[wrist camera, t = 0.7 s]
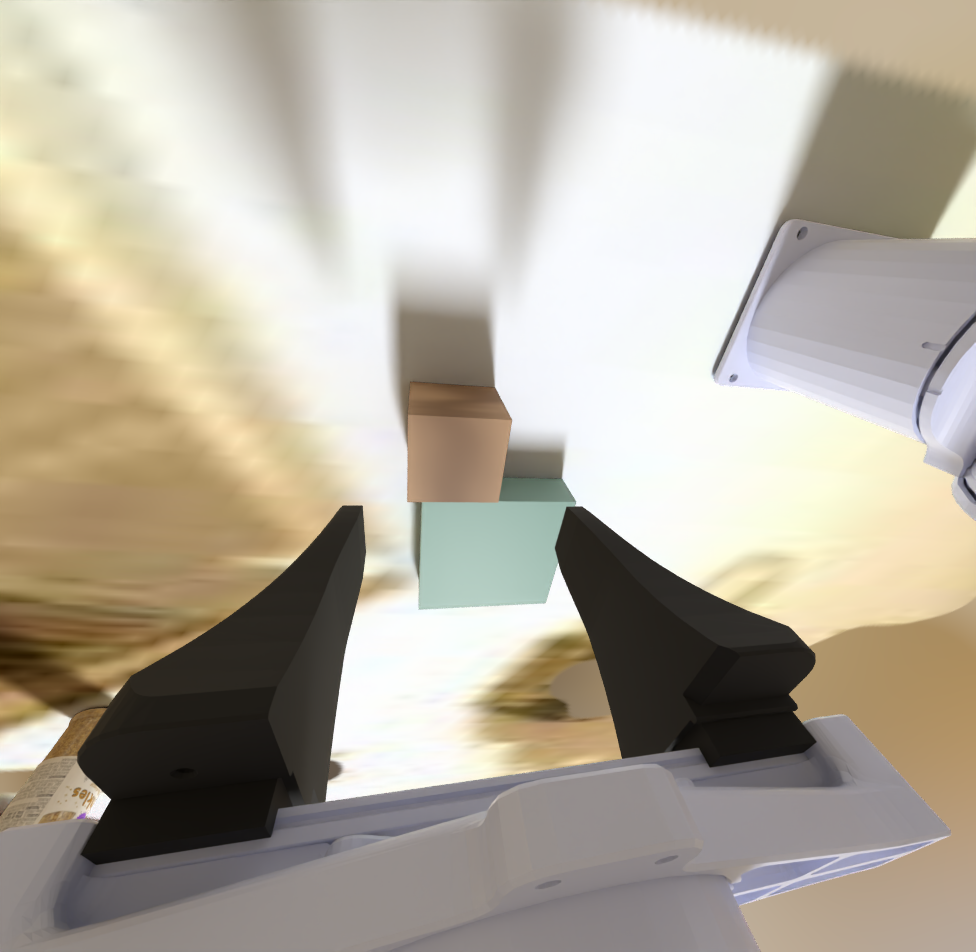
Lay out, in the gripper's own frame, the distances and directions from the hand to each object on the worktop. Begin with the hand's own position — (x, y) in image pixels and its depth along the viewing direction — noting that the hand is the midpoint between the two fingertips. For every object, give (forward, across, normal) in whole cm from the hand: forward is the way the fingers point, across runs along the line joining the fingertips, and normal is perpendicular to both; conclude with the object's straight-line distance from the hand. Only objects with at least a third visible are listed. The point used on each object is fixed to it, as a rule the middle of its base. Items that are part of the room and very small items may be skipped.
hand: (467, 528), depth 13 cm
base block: (+10, -3, +8) cm, 13 cm away
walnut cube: (+9, 0, 0) cm, 9 cm away
